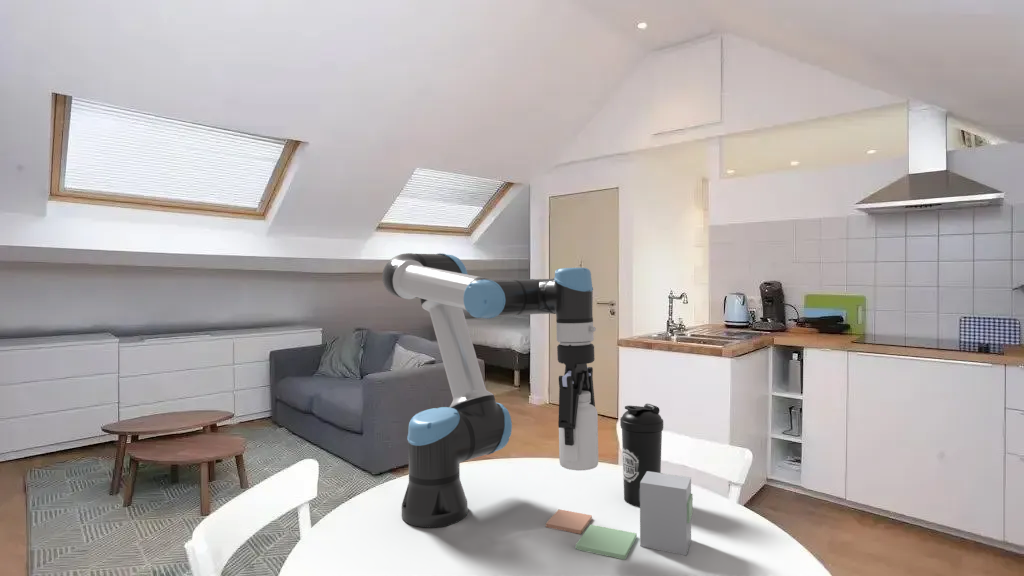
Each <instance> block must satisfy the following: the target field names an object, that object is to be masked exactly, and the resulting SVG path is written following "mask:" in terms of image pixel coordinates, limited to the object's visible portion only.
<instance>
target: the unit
mask: <svg viewBox="0 0 1024 576" xmlns="http://www.w3.org/2000/svg"><path fill="white" fill-rule="evenodd" d="M693 496H694V495H693V493H692V477H690V476H683V475H677V474H670V473H662V472H661V473H657V472H650V471H647V472H646V474H645V475H644V477H643V478H642V480H641V482H640V489H639V501H640V507H639V546H640V547H643V548H648V549H653V550H657V551H658V550H659V551H663V552H668V553H673V554H679V555H683V556H687V554H688V552H689V548H690V545H691V541H692V516H693V502H694V501H693Z"/></svg>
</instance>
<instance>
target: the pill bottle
mask: <svg viewBox="0 0 1024 576" xmlns="http://www.w3.org/2000/svg"><path fill="white" fill-rule="evenodd" d="M590 402H591V393H590V392H589V391H584V390H582V393H581V394H580V395H579V399H578V408H577V417H576V427H575V428H578V454H579V461H578V462H574V461H566V460H565V459H564V428H559V427H558V452H559V453H558V455H559V464H560V466H561V467H562V468H564V469H567V470H571V471H589V470H593V469H595V468H597V467H598V466H599V427H598V426H599V425H598V424H599V423H598V422H599V421H598V419H599V417H598V415H599V414H598V410H597V408H596V406H595V407H594V406H593V405H591V404H589V403H590Z"/></svg>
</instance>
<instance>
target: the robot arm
mask: <svg viewBox="0 0 1024 576" xmlns="http://www.w3.org/2000/svg"><path fill="white" fill-rule="evenodd" d="M381 279H382V283H383V286H384V287H385V290H386V291H387V292H389V294H391V295H392V296H394V297H396V298H402V299H406V300H412V299H419V300H420V304H421V307H422V309H423V310H425V311H427V312H428V313H429V316H430V319H431V323H432V326H433V330H434V334H435V337H436V341H437V345H438V349H439V352H440V356H441V359H442V362H443V363H442V364H443V367H444V370H445V373H446V379H447V382H448V385H449V389H450V391H451V395H452V402H451V404H450V405H449V406H448V407H447V406H441V407H437V408H436V407H433V408H429V409H425V410H421V411H419V412H418V413H415V415H413V416H412V417H411V418H410V421H409V422H408V428H407V430H408V431H407V432H408V433H407V437H406V438H407V442H408V446H407V447H408V449H407V450H408V483H407V487H406V490H405V493H404V497H403V500H402V503H401V518H402V520H403V521H404V523H407V524H409V525H411V526H415V527H419V528H441V527H446V526H450V525H453V524H456V523H458V522H460V521H461V520H463V519H464V518H465V517H466V516H467V514H468V499H467V496H466V494H465V491H464V488H463V485H462V481H461V477H460V476H461V474H460V467H461V466H460V464H461V463H463V462H466V461H470V460H473V459H476V458H479V457H483V456H487V455H491V454H494V453H495V452H498V451H500V450H502V449H503V448H505V447H506V446H507V444H508V443H509V441H510V437H511V436H512V429H513V424H512V416H511V414H510V412H509V410H508V408H507V407H505V405H504V404H502V403H499V402H497V401H496V398H495V394H494V393H492V392H491V391H489V390H487V388H486V385H485V381H484V378H483V374H482V372H481V368H480V364H479V361H478V357H477V353H476V350H475V347H474V344H473V340H472V337H471V333H470V330H469V325H468V323H467V319H466V317H465V313H464V310H465V311H466V312H468V313H469V315H470V316H471V317H473V318H476V319H493V318H501V317H512V316H513V317H514V316H515V317H516V316H526V315H527V316H528V315H542V314H543V315H545V314H547V315H548V314H549V315H551V314H552V315H555V318H556V322H555V323H556V327H555V328H556V342H557V343H559V344H558V345H557V347H556V349H557V361H558V363H559V364H563V365H565V366H564V367H565V369H564V373H563V375H559V376H558V385H559V386H558V387H559V390H558V391H559V393H558V425H557V426H558V429H559V428H564V459H565V460H566V461H574V462H578V461H579V454H578V428H575V427H576V417H577V408H578V399H579V395H580V394H581V393H582V390H584V391H589V392H590V393H591V402H590V403H589V404H591V405H593V406H594V407H595V408H596V403H595V402H596V401H595V391H594V378H593V372H594V369H593V367H592V366H588V364H592V363H593V362H594V361H595V345H594V344H593V343H592V342H593V341H594V337H595V336H594V332H596V327H595V326H594V317H593V315H594V314H593V302H594V301H593V291H594V287H593V281H592V280H593V279H592V273H591V270H590V269H589V268H587V267H564V268H563V267H562V268H557V269H556V270H555V271H554V277H553V278H538V279H537V278H536V279H535V278H531V279H530V278H527V279H493V278H488V277H482V276H479V275H478V276H477V275H473V274H472V275H471V274H468V270H467V268H466V265H465V264H464V262H463V261H462V260H461V259H460V258H459V257H457V256H456V255H453V254H446V253H444V252H443V253H441V252H439V253H412V252H411V253H410V252H409V253H408V252H407V253H400V254H398V255H395V256H394V257H392V258H391V259H390V260H388V261H387V262H386V264H385V266H384V268H383V271H382V277H381Z"/></svg>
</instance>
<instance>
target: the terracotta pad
mask: <svg viewBox="0 0 1024 576" xmlns="http://www.w3.org/2000/svg"><path fill="white" fill-rule="evenodd" d="M592 520H593V515H592V514H586V513H583V512H582V513H580V512H577V511H576V512H575V511H569V510H565V509H558V510H557V511H555V513H554V514H553V515H552V516H551V517H550V518H549V519H548V520H547V522H546V523H545V528H549V529H554V530H559V531H564V532H569V533H573V534H578V535H582V533H584V532H585V531H584V530H586V529H587V528H588V527H587V526H588V525H590V522H591V521H592Z"/></svg>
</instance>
